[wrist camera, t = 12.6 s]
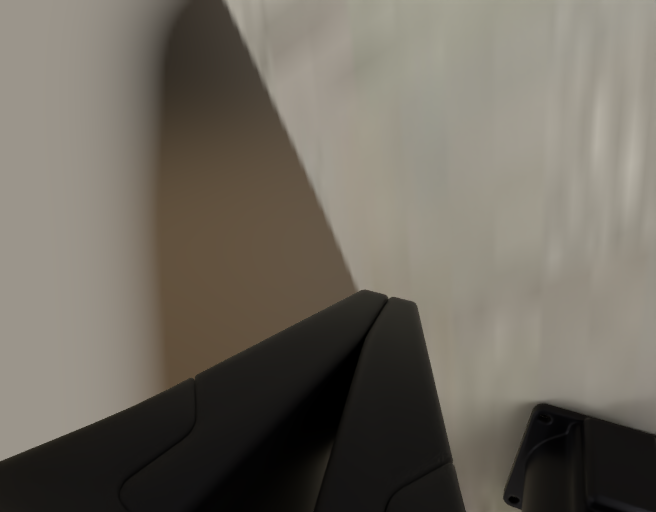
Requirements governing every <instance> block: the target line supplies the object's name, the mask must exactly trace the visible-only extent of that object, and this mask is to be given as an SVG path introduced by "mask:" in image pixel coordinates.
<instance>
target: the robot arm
mask: <svg viewBox="0 0 656 512" xmlns="http://www.w3.org/2000/svg"><path fill="white" fill-rule="evenodd" d="M540 415H547V416H549V417H542V416H540ZM452 463H453V459H452V455H451V450H450V446H449V442H448V438H447V433H446V429H445V425H444V420H443V416H442V412H441V407H440V403H439V399H438V394H437V390H436V386H435V381H434V377H433V373H432V369H431V364H430V360H429V356H428V351H427V347H426V343H425V338H424V334H423V330H422V325H421V321H420V317H419V312H418V308H417V305H416V303H414V302H412V301H408V300H404V299H400V298H396V297H391V298H389V299H388V297H387V296H386V295H384V294H380V293H377V292H373V291H369V290H361V291H359V292H357V293H355V294H353V295H351V296H349V297H347V298H345V299H343V300H341V301H339V302H337V303H336V304H334V305H332V306H330V307H328V308H326V309H324V310H322V311H320V312H318V313H316V314H314V315H312V316H311V317H308V318H306V319H304V320H302V321H301V322H299V323H297V324H295V325H293V326H291V327H289V328H287V329H285V330H283V331H281V332H279V333H277V334H275V335H273V336H271V337H269V338H267V339H265V340H264V341H262V342H260V343H258V344H256V345H254V346H252V347H250V348H248V349H246V350H244V351H242V352H240V353H238V354H237V355H234V356H232V357H230V358H228V359H227V360H225V361H223V362H221V363H219V364H217V365H215V366H213V367H211V368H209V369H207V370H205V371H203V372H201V373H200V374H197V375H196V376H195V380H194V379H193V378H189V379H187V380H185V381H183V382H181V383H179V384H177V385H176V386H174V387H172V388H170V389H168V390H166V391H164V392H161V393H160V394H157V395H156V396H153V397H151V398H149V399H147V400H145V401H143V402H141V403H139V404H137V405H135V406H133V407H130V408H128V409H126V410H123V411H121V412H119V413H116V414H114V415H112V416H109V417H107V418H105V419H102V420H100V421H98V422H95V423H93V424H91V425H88V426H86V427H84V428H81V429H79V430H76V431H74V432H71V433H69V434H66V435H64V436H61V437H59V438H56V439H54V440H52V441H49V442H47V443H44V444H42V445H39V446H37V447H35V448H32V449H29V450H27V451H25V452H22V453H20V454H17V455H15V456H12V457H10V458H7V459H5V460H3V461H0V512H466V510H465V506H464V503H463V499H462V496H461V492H460V488H459V483H458V479H457V475H456V471H455V467H454V465H453V464H452ZM513 496H515V497H513ZM503 499H504V501H505V502H506V503H507V504H508V505H510V506H512V507H515V508H518V509H521V510H522V512H656V435H652V434H649V433H645V432H642V431H638V430H635V429H631V428H628V427H624V426H621V425H617V424H614V423H610V422H607V421H604V420H600V419H597V418H593V417H590V416H586V415H583V414H579V413H576V412H572V411H569V410H565V409H562V408H558V407H555V406H552V405H548V404H538V405H537V406H535V407H534V408H533V410H532V413H531V416H530V419H529V422H528V424H527V427H526V430H525V433H524V436H523V438H522V441H521V444H520V447H519V450H518V452H517V455H516V458H515V461H514V463H513V466H512V469H511V472H510V475H509V477H508V480H507V483H506V486H505V489H504V496H503ZM313 510H314V511H313Z"/></svg>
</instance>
